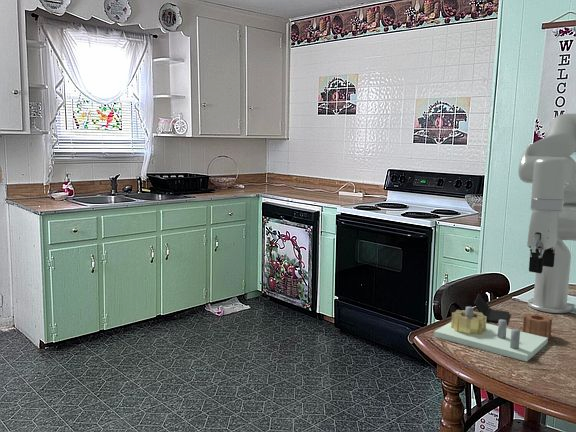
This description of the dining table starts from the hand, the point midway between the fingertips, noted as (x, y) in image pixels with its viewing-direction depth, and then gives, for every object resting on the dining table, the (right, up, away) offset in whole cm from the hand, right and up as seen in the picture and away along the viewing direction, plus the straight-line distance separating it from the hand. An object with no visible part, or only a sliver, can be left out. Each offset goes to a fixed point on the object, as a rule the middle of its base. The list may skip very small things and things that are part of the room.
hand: (541, 269), depth 144 cm
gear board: (-14, -19, -1) cm, 23 cm away
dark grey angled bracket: (-7, -16, +18) cm, 25 cm away
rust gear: (0, -18, +3) cm, 18 cm away
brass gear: (-19, -17, +3) cm, 25 cm away
